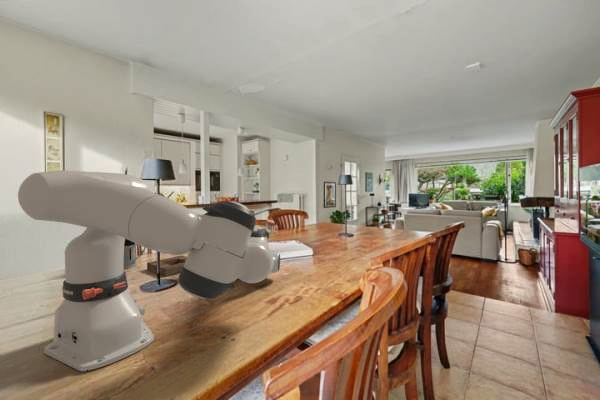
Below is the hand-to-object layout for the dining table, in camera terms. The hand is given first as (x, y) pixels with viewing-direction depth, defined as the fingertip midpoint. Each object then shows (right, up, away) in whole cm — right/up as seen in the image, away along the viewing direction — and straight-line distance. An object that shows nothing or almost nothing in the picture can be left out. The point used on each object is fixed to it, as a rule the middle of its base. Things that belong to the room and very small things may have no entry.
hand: (209, 258), depth 110 cm
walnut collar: (-18, -6, +8) cm, 21 cm away
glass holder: (-38, -6, +10) cm, 40 cm away
